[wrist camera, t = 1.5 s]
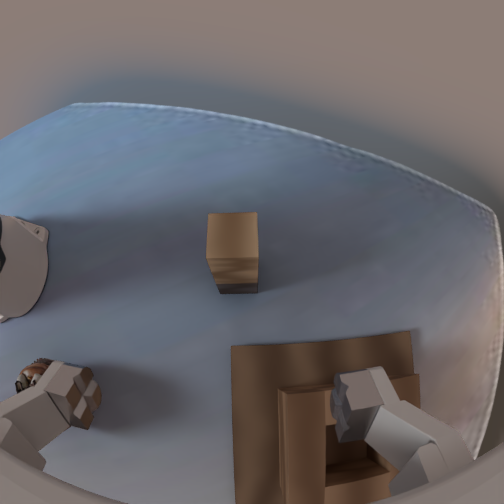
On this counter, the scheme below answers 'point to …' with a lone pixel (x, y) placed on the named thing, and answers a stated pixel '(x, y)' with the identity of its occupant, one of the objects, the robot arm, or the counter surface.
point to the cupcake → (32, 374)
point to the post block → (309, 421)
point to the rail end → (233, 251)
